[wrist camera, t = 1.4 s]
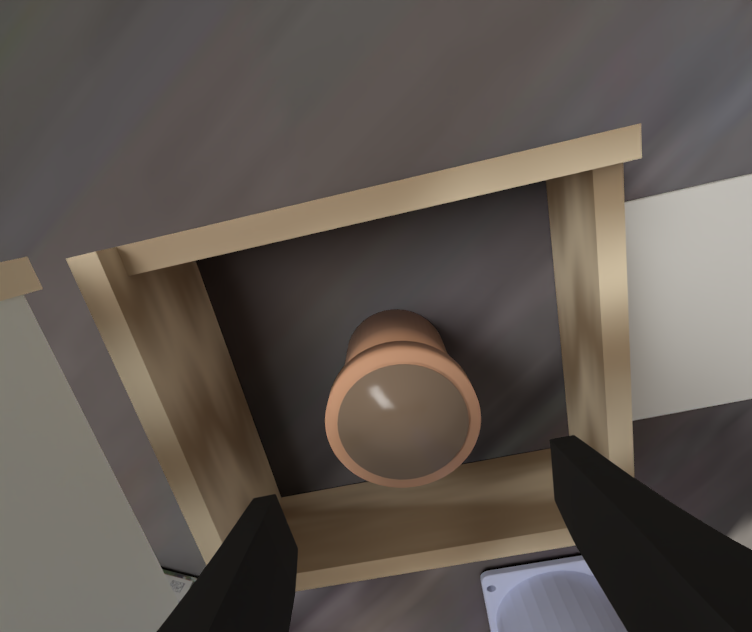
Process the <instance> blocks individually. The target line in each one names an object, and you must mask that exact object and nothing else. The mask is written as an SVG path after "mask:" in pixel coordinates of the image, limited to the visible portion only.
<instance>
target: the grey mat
mask: <svg viewBox="0 0 752 632" xmlns="http://www.w3.org/2000/svg"><path fill="white" fill-rule="evenodd" d="M624 203H625V231H626V258H627V286H628V314H629V342H630V370H631V397H632V421H634V420H639V419H645V418H650V417H656V416H661V415H666V414H672V413H677V412H683V411H688V410H693V409H699V408H704V407H710V406H715V405H721V404H726V403H731V402H737V401H742V400H748V399H752V173H751V174H747V175H742V176H738V177H733V178H729V179H724V180H720V181H715V182H711V183H706V184H702V185H697V186H693V187H688V188H684V189H679V190H675V191H671V192H666V193H662V194H657V195H653V196H648V197H644V198H639V199H635V200H630V201H626V202H624Z"/></svg>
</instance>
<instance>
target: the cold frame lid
mask: <svg viewBox="0 0 752 632" xmlns="http://www.w3.org/2000/svg"><path fill="white" fill-rule="evenodd" d="M41 289H43V288H42V286H41V284H40V282H39V280H38V278H37V276H36V274H35V272H34V269H33V267H32V265H31V263H30V261H29V259H28V257H23V258H18V259H13V260H9V261H4V262H0V632H157V630H158V629H159V628H160V627H161V625H162V624H163V623H164V622H165V620H166V619H167V618H168V616H169V615H170V614H171V613H172V611H173V610H174V609H175V607H176V606H177V605H178V603H179V602H178V600H177V598H176V596H175V594H174V592H173V590H172V588H171V586H170V584H169V582H168V580H167V578H166V576H165V574H164V572H163V570H162V568H161V566H160V564H159V562H158V560H157V558H156V556H155V554H154V552H153V550H152V548H151V546H150V544H149V542H148V540H147V538H146V536H145V534H144V532H143V530H142V528H141V526H140V524H139V522H138V520H137V518H136V516H135V514H134V512H133V511H132V509H131V507H130V505H129V503H128V501H127V499H126V497H125V495H124V493H123V491H122V489H121V487H120V485H119V483H118V481H117V479H116V477H115V475H114V473H113V471H112V469H111V467H110V465H109V463H108V461H107V459H106V457H105V455H104V453H103V451H102V449H101V447H100V445H99V443H98V441H97V439H96V437H95V435H94V433H93V431H92V429H91V427H90V425H89V423H88V421H87V419H86V417H85V415H84V413H83V411H82V409H81V407H80V406H79V404H78V402H77V400H76V398H75V396H74V394H73V392H72V390H71V388H70V386H69V384H68V382H67V380H66V378H65V376H64V374H63V372H62V370H61V368H60V366H59V364H58V362H57V360H56V358H55V356H54V354H53V352H52V350H51V348H50V346H49V344H48V342H47V340H46V338H45V336H44V334H43V332H42V330H41V328H40V326H39V324H38V322H37V320H36V318H35V316H34V314H33V312H32V310H31V308H30V306H29V304H28V302H27V301H26V299H25V297H24V294H27V293H31V292H34V291H38V290H41Z"/></svg>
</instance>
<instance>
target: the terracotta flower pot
mask: <svg viewBox="0 0 752 632" xmlns="http://www.w3.org/2000/svg"><path fill="white" fill-rule="evenodd" d="M480 427H481V411H480V405H479V401H478V398H477V396H476V394H475V391H474V389H473V387H472V385H471V383H470V381H469V379H468V377H467V375H466V373H465V372H464V370H463V369H462V368H461V367H460V365H459V364H458V363H457V362H456V361H455V360H454V359H453V358H452V357H450V356H449V355H448V353H447V351H446V349H445V346H444V344H443V342H442V339H441V337H440V335H439V333H438V331H437V330H436V328H435V327H434V326H433V325H432V324H431V323H430V322H429V321H428V320H427V319H425V318H424V317H422V316H420V315H418V314H416V313H414V312H411V311H406V310H399V309H397V310H386V311H382V312H379V313H376V314H374V315H372V316H370V317H369V318H367V319H366V320H364V321H363V322H362V323H361V324H360V325H359V326H358V327H357V328H356V330H355V331H354V333H353V334H352V336H351V339H350V341H349V345H348V349H347V354H346V360H345V365H344V367H343V368H342V369H341V371H340V372H339V373H338V375H337V377H336V379H335V380H334V382H333V385H332V388H331V391H330V395H329V399H328V404H327V408H326V413H325V429H326V434H327V438H328V441H329V443H330V446H331V448H332V450H333V452H334V453H335V455H336V456H337V458H338V459H339V460H340V461H341V462H342V463H343V465H344V466H345V467H346V468H348V469H349V470H350V471H351V472H353V473H354V474H356V475H357V476H359V477H361V478H363V479H365V480H367V481H369V482H372V483H375V484H378V485H382V486H387V487H396V488H409V487H416V486H421V485H425V484H429V483H432V482H434V481H437V480H439V479H441V478H443V477H445V476H446V475H448V474H450V473H451V472H453V471H454V470H455V469H456V468H457V467H459V466H460V465H461V464H462V463H463V462H464V461H465V459H466V458H467V457H468V456H469V454H470V453H471V451H472V449H473V448H474V446H475V444H476V441H477V439H478V436H479V432H480Z"/></svg>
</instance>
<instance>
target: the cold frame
mask: <svg viewBox="0 0 752 632" xmlns="http://www.w3.org/2000/svg"><path fill="white" fill-rule="evenodd" d="M640 158H642V146H641V123H640V124H636V125H632V126H628V127H623V128H619V129H615V130H611V131H606V132H602V133H598V134H594V135H589V136H585V137H581V138H577V139H572V140H568V141H564V142H560V143H555V144H551V145H547V146H543V147H539V148H534V149H530V150H526V151H522V152H517V153H513V154H509V155H505V156H500V157H496V158H492V159H488V160H483V161H479V162H475V163H471V164H466V165H462V166H458V167H454V168H449V169H445V170H441V171H437V172H432V173H428V174H424V175H420V176H415V177H411V178H407V179H403V180H398V181H394V182H390V183H386V184H381V185H377V186H373V187H369V188H365V189H360V190H356V191H352V192H348V193H343V194H339V195H335V196H331V197H326V198H322V199H318V200H314V201H309V202H305V203H301V204H297V205H292V206H288V207H284V208H280V209H275V210H271V211H267V212H263V213H258V214H254V215H250V216H246V217H241V218H237V219H233V220H229V221H224V222H220V223H216V224H212V225H207V226H203V227H199V228H195V229H190V230H186V231H182V232H178V233H174V234H169V235H165V236H161V237H157V238H152V239H148V240H144V241H140V242H135V243H131V244H127V245H123V246H118V247H114V248H110V249H105V250H101V251H96V252H92V253H88V254H84V255H79V256H75V257H71V258H67V259H66V260H67V263H68V265H69V267H70V269H71V271H72V273H73V276H74V278H75V280H76V282H77V284H78V287H79V289H80V291H81V293H82V295H83V297H84V300H85V302H86V304H87V306H88V308H89V310H90V313H91V315H92V317H93V319H94V321H95V324H96V326H97V328H98V330H99V332H100V334H101V337H102V339H103V341H104V343H105V345H106V347H107V350H108V352H109V354H110V356H111V358H112V361H113V363H114V365H115V367H116V369H117V371H118V374H119V376H120V378H121V380H122V382H123V385H124V387H125V389H126V391H127V393H128V395H129V398H130V400H131V402H132V404H133V406H134V408H135V411H136V413H137V415H138V417H139V419H140V422H141V424H142V426H143V428H144V430H145V432H146V435H147V437H148V439H149V441H150V443H151V445H152V448H153V450H154V452H155V454H156V456H157V459H158V461H159V463H160V465H161V467H162V469H163V472H164V474H165V476H166V478H167V480H168V483H169V485H170V487H171V489H172V491H173V493H174V496H175V498H176V500H177V502H178V504H179V506H180V509H181V511H182V513H183V515H184V517H185V520H186V522H187V524H188V526H189V528H190V530H191V533H192V535H193V537H194V539H195V541H196V543H197V546H198V548H199V550H200V552H201V554H202V557H203V559H204V561H205V563H206V565H207V564H208V563H209V561H210V560H211V559H212V557H213V556H214V554H215V553H216V552H217V550H218V549H219V547H220V546H221V544H222V543H223V541H224V540H225V539H226V537H227V536H228V534H229V533H230V531H231V530H232V528H233V527H234V525H235V524H236V523H237V521H238V520H239V518H240V517H241V515H242V514H243V512H244V511H245V510H246V508H247V507H248V505H249V504H250V502H251V501H252V500H253V498H257V497H262V496H267V495H272V494H276V496H277V498H278V501H279V503H280V506H281V508H282V511H283V513H284V515H285V518H286V520H287V523H288V525H289V528H290V530H291V533H292V535H293V537H294V540H295V542H296V545H297V547H298V560H297V576H296V589H295V591H301V590H307V589H314V588H320V587H326V586H332V585H338V584H344V583H350V582H356V581H362V580H368V579H374V578H380V577H386V576H392V575H398V574H404V573H411V572H417V571H423V570H429V569H435V568H441V567H447V566H453V565H459V564H465V563H471V562H477V561H483V560H489V559H495V558H502V557H508V556H514V555H520V554H526V553H532V552H538V551H544V550H550V549H556V548H562V547H568V546H574V545H575V543H574V541H573V539H572V537H571V535H570V533H569V531H568V529H567V526H566V524H565V522H564V520H563V518H562V516H561V513H560V511H559V509H558V507H557V505H556V502H555V500H554V488H553V475H552V462H551V448H549V449H544V450H538V451H533V452H527V453H522V454H516V455H511V456H506V457H500V458H495V459H489V460H484V461H478V462H473V463H467V464H462V465H460V466H459V467H457V468H456V469H455V470H454V471H453V472H451V473H450V474H448V475H446V476H445V477H443V478H441V479H439V480H437V481H434V482H432V483H429V484H425V485H421V486H416V487H409V488H396V487H387V486H382V485H378V484H375V483H372V482H363V483H358V484H352V485H347V486H341V487H336V488H330V489H325V490H319V491H314V492H308V493H303V494H297V495H292V496H286V497H281V496H280V493H279V490H278V487H277V485H276V482H275V479H274V476H273V473H272V471H271V468H270V465H269V462H268V460H267V457H266V454H265V451H264V449H263V446H262V443H261V440H260V438H259V435H258V432H257V429H256V427H255V424H254V421H253V418H252V415H251V413H250V410H249V407H248V404H247V402H246V399H245V396H244V393H243V391H242V388H241V385H240V382H239V380H238V377H237V374H236V371H235V368H234V366H233V363H232V360H231V357H230V355H229V352H228V349H227V346H226V344H225V341H224V338H223V335H222V333H221V330H220V327H219V324H218V321H217V319H216V316H215V313H214V310H213V308H212V305H211V302H210V299H209V297H208V294H207V291H206V288H205V286H204V283H203V280H202V277H201V274H200V272H199V269H198V266H197V263H196V260H200V259H204V258H209V257H213V256H218V255H222V254H226V253H231V252H235V251H239V250H244V249H248V248H252V247H257V246H261V245H265V244H270V243H274V242H279V241H283V240H287V239H292V238H296V237H300V236H305V235H309V234H313V233H318V232H322V231H326V230H331V229H335V228H339V227H344V226H348V225H353V224H357V223H361V222H366V221H370V220H374V219H379V218H383V217H387V216H392V215H396V214H400V213H405V212H409V211H414V210H418V209H422V208H427V207H431V206H435V205H440V204H444V203H448V202H453V201H457V200H461V199H466V198H470V197H474V196H479V195H483V194H488V193H492V192H496V191H501V190H505V189H509V188H514V187H518V186H522V185H527V184H531V183H535V182H540V181H544V180H546V187H547V198H548V209H549V220H550V231H551V242H552V253H553V264H554V275H555V286H556V297H557V308H558V319H559V330H560V341H561V352H562V362H563V373H564V384H565V395H566V406H567V417H568V428H569V436H571V435H575V436H576V437H578V438H579V439H581V440H582V441H583V442H585V443H586V444H588V445H589V446H590V447H592V448H593V449H595V450H596V451H597V452H599V453H600V454H601V455H603V456H604V457H606V458H607V459H608V460H610V461H611V462H613V463H614V464H615V465H617V466H618V467H620V468H621V469H622V470H624V471H625V472H627V473H628V474H629V475H631V476H632V477H634V453H633V425H632V397H631V370H630V342H629V314H628V286H627V258H626V231H625V203H624V175H623V162H627V161H631V160H636V159H640Z"/></svg>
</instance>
